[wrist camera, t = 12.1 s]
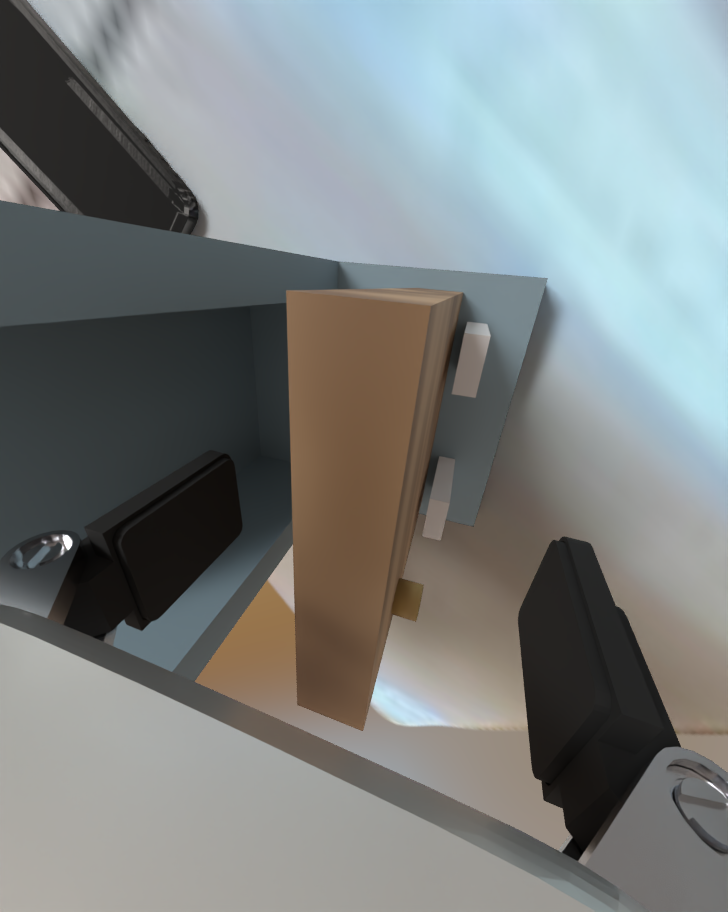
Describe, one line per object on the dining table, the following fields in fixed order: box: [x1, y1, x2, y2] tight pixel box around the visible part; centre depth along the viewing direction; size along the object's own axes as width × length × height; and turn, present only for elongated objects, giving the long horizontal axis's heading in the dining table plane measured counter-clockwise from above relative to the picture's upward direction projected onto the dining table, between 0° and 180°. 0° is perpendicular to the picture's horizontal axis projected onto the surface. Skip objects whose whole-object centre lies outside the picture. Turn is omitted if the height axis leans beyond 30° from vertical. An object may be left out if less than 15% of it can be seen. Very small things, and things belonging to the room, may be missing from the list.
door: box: [286, 288, 463, 731], centre depth 14 cm, size 3×13×14 cm, turn 175°
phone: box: [0, 0, 198, 235], centre depth 21 cm, size 8×1×15 cm
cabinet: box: [0, 200, 548, 682], centre depth 15 cm, size 18×15×18 cm
